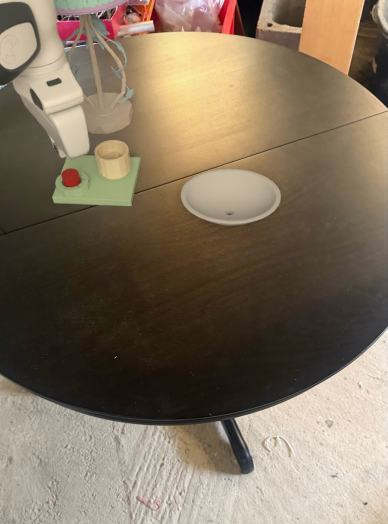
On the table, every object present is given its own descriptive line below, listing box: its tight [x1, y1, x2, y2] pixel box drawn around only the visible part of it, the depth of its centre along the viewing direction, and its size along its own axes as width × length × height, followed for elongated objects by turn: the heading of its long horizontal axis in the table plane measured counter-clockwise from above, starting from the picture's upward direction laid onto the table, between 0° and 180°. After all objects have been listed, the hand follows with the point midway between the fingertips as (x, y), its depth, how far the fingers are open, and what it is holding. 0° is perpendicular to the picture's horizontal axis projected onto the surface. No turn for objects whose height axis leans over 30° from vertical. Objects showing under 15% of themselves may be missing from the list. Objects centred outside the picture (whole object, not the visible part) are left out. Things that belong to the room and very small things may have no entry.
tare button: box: [60, 168, 81, 187], centre depth 89 cm, size 3×3×2 cm
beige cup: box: [93, 139, 131, 180], centre depth 91 cm, size 6×6×4 cm
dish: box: [180, 168, 282, 227], centre depth 85 cm, size 18×14×5 cm
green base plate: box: [51, 154, 142, 207], centre depth 92 cm, size 15×13×3 cm
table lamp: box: [54, 0, 135, 135], centre depth 89 cm, size 22×22×40 cm
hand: (62, 152), depth 84 cm, fingers closed
